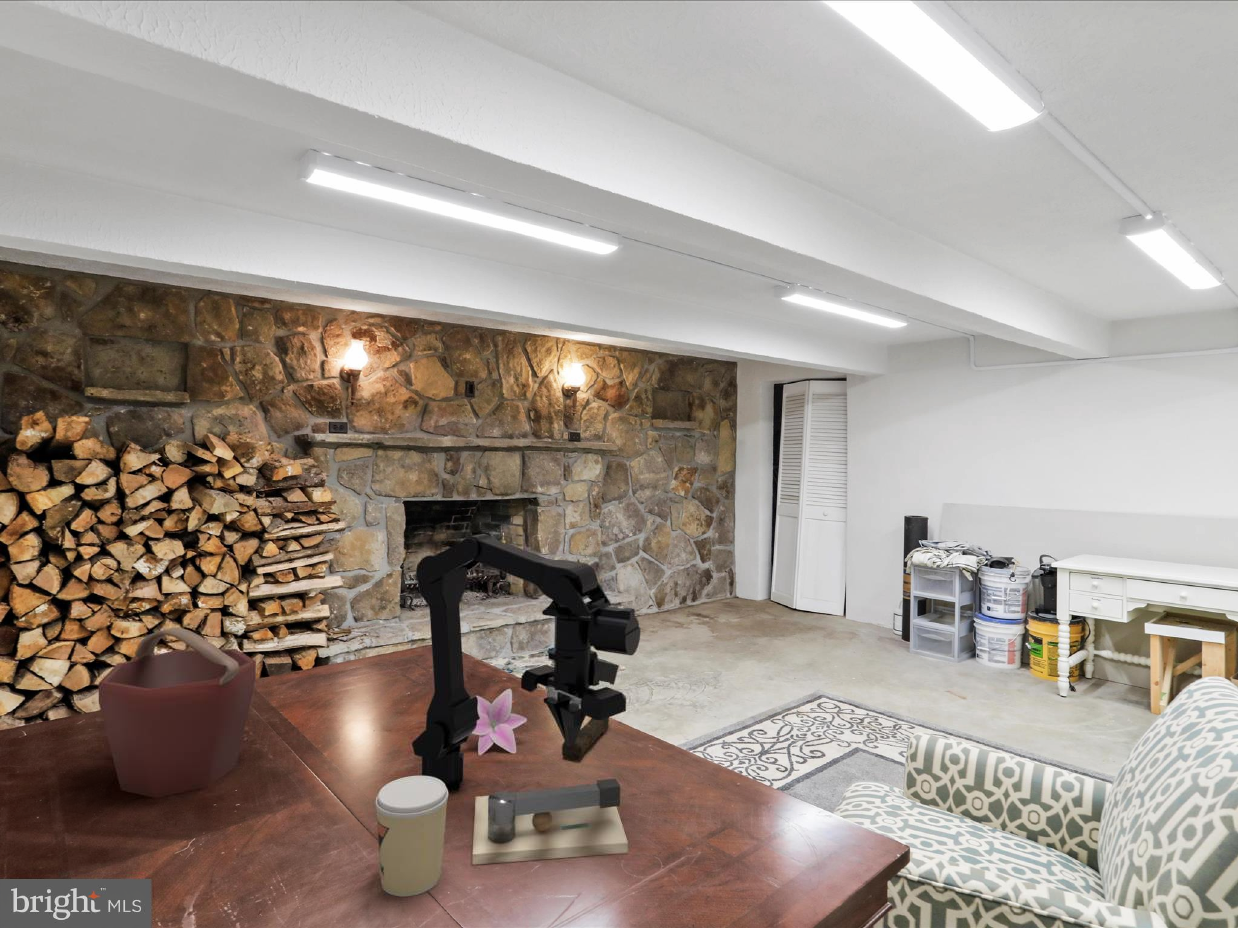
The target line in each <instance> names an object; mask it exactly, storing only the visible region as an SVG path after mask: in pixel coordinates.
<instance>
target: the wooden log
mask: <svg viewBox="0 0 1238 928" xmlns="http://www.w3.org/2000/svg"><path fill="white" fill-rule="evenodd" d="M609 721H610V717H608V718H606V719H603V720H595V719H593V718H591V719H590V720H589V721H588V722H587V723H586V724H584V726H582V727H581V729H580V732H579V734H578V737H577V739H576V742H575V744H574V745H572V746H569V745H567V744H566V742H565V740H564V741H563V743H562V746H561V755H562V757H563V759H564V760H568V761H572V762H578V761H581V759H582V757H583V756H584V753H585V751H586V750H588V748H589V747H590V745H593V744H594V742H595V741H596V739H597V738H598V737H599V736H603V735H605V734H606V732H607V730H608V727H609V724H610V723H609Z"/></svg>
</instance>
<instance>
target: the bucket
mask: <svg viewBox="0 0 1238 928" xmlns="http://www.w3.org/2000/svg"><path fill="white" fill-rule="evenodd" d="M165 636H169V637H173V638H174V639H177V640H178V641H181V642H183V643H184V644H186V645H187V646H188V647H189V648H190V649H176V650H175V649H174V650H171V651H167V652H163V653H157V654H155V653H154V650H155V649H156V646H157V644H158V643H159V642H160V640H161V639H162V638H164V637H165ZM134 658H135V659H132V660H128V661H124V662H119V663H116V665H115V666H114V667H112V669H111V670H110V671H109V672H108V673H107V674H106V675H105V676H104V677H103V678H102V679H101V680H100V681H99V682H98V705H99V709H100V714H101V717H102V720H103V724H104V728H105V731H106V736H107V740H108V744H109V748H110V753H111V756H112V760H113V764H114V768H115V771H116V772H115V773H116V775H117V776H116V777H117V780H118V784H119V787H120V790H121V791H123V792H127V793H132V794H137V795H141V796H144V797H150V798H154V799H156V798H162V797H166V796H171V795H176V794H180V793H184V792H189V791H194V790H198V789H203V788H208V787H210V786H211V785H213V784H214V783H216V782H217V781H218V780H219V779H221V778H222V777H223V776H225V775H226V774H227V773H228V772H230V771H231V770H233V769H234V768H236V767H237V763H238V759H239V756H240V755H239V754H240V751H241V746H242V741H243V737H244V732H245V727H246V723H247V719H248V714H249V711H250V705H251V702H252V695H253V692H254V687H255V683H256V679H257V661H256V660H255V659H253V658H251V657H250V656H249V655H247V654H245V653H243V652H242V651H240V650H238V649H236V648H218V647H217V645H215V644H213V643H212V642H210V641H209V640H206V639H205V638H203V637H202V636H200V635H199V634H197V633H196V632H193V631H191V630H189V629H185V628H183V627H171V628H167V629H162V630H158V631H156V632H153V633H150V634H148V635H147V636H145V637H143V639H141V640H140V642H139V644H138V645H137V648H136V649H135V652H134Z"/></svg>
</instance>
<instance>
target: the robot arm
mask: <svg viewBox="0 0 1238 928" xmlns="http://www.w3.org/2000/svg"><path fill="white" fill-rule="evenodd" d="M480 564H481V565H485V566H487V567H488V568H489V567H490V568H493V569H494V570H495V569H496V570H497V571H500V572H502V573H505V574H507V575H510V576H512V577H515V578H517V579H520V580H523V581H525V582H527V583H530V584H532V585H534V586H535V587H537V588H538V590H539V591H540V593H542V595H544V596H546V597H547V598H548V599H550V600H551V602H550V603H549V605H548V606H547V607H545V608H544V609H543V610H542V611H541V614H542V615H543V616H546V617H547V616H548V617H554V645H553V646H554V647H553V648H554V649H553V650H552V651H548V656H547V657H548V659H549V660H551V661H553V666H552V665H549V664H544V665H540V666H536V667H533V668H532V667H531V668H529V669H526V670H524V672H523V673H522V675H521V677H520V679H521V681H520V684H521V685H520V688H521V689H523V690H525V691H527V692H529V693H533V692H535V691H536V690H537V688H538V685H541V686H543V687H545V690H547V692H546V693H547V694H546V696H547V697H544V698H543V700H542V701H543V703H544V704H546V706H547V708H548V709H549V711H550V713H551V716H552V717H553V719H554V721H555V723H556V725H557V727H558V729H559V731H560V733H561V736H562V739H563V740H564V741H565V742H566V744H567V745H569V746H572V745H574V744H575V742H576V739H577V737H578V734H579V732H580V729H581V728H582V727H583V724H584V721H585V719H586V717H588V718H591V719H592V718H593V719H595V720H603V719H606V718H608V717H609V718H611V717H614V716H617V715H620V714H623V713H626V711H627V696H626V695H625V694H624V693H623V692H621V691H619V690H616V689H614V688H611V687H608V686H605V687H601V688H598V689H594V688H591V687H596V686H599V685H600V682H604V683H609V685H613V686H614V685H615V683H616V678H617V676H618V670H619V664H616V663H614V662H611V661H607V660H605V659H601V658H599V657H598V656H599V655H598V653H597V651H599V652H605V653H613V654H616V655H617V654H618V655H624V656H633V655H634V654H635V653H636V651H637V649H638V647H639V644H640V640H641V627H640V624H639V623H640V622H639V620H638V618H637V617H636V615H635V614H636V610H635V609H634V608H631V607H623V608H621V607H613V606H611V605H612V604H611V603H612V602H611V601H610V599H609V598H608V596H607V594H606V593H605V591H604V590H603V588H602V587H601V585H600V583H599V581H598V575H597V574H596V572H595V569H594V567H593V566H591V565H590V564H588V563H585V562H581V561H575V560H568V559H567V560H565V559H554V558H553V559H552V558H547V557H544V556H541V555H539V554H536V553H534V552H531V551H529V550H526V549H522V548H520V547H517V546H514V545H512V544H510V543H508V542H507V543H506V542H504V541H502V540H499V539H496V538H493V537H492V536H491V535H489V534H486V533H482V534H475V535H470V536H466V538H465V539H463V540H461V541H460V542H458V543H457V544H455V545H453V546H450V547H449V548H446V549H445V550H443V551H440V552H439V553H435V554H431V555H425V556H424V557H422V558H421V560H420V561H419V562H418V563H417V564H416V570H415V571H416V572H415V573H416V574H415V575H416V580H417V585H418V590H419V593H420V595H421V597H422V598H423V600H424V601H425V603H426V604H427V606H428V608H429V620H430V638H431V653H432V655H431V656H432V658H431V659H432V671H433V672H432V674H433V688H434V690H433V691H434V692H433V695H432V698H431V700H430V702H429V706H428V708H427V711H426V718H425V719H426V721H425V730H423V732H421V733H420V735H418V736H417V737H416V738H415V739H414V740H413V741H412V742H411V746H412V749H413V753H414V756H417V757H420V758H421V776H430V777H434V778H437V779H439V780H441V781H442V782H443V783H444V784H445V786H446V788H447V790H448V793H450V792H451V793H453V792H454V793H455V792H459V791H460V790H461V784H462V783H463V782H464V777H465V775H464V774H465V753H464V752H461V751H462V749H461V748H462V745H463V744H465V743H467V742H468V741H469V739H470V736H471V735H472V734H473V733H472V732H473V731H474V729H475V728H476V725H477V720H479V719H480V717H479V714H478V699H477V697H476V696H477V695H475V696H471V695H470V694H469V692H468V690H466V688H465V677H464V661H463V646H462V645H463V643H462V628H461V613H460V612H461V611H460V603H461V600H462V598H463V596H464V592H465V590H466V587H467V581H468V571H471V570H472V569H474V568H475V567H477V566H478V565H480ZM586 599H589V601H586V602H585V600H586ZM592 647H593V648H594V650H596V651H594V650H592Z"/></svg>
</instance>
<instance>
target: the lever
mask: <svg viewBox="0 0 1238 928" xmlns="http://www.w3.org/2000/svg"><path fill="white" fill-rule="evenodd" d="M488 796H489V797H488V839H489V840H491V841H493V842H497V843H503V842H507V841H510V840H512V839H513V838H514V837H515V829H516V816H519V815H527V814H535V813H543V812H551V811H560V810H568V809H576V808H584V807H592V806H600V808H608V807H620V806H621V785H620V784H619V782H618V780H617V778H615V777H614V778H608V779H598V780H596V783H589V784H588V783H587V784H581V785H580V784H579V785H573V786H572V785H571V786H563V787H555V788H547V789H546V788H545V789H536V790H530V791H529V790H528V791H519V792H518V791H517V792H512V791H507V790H499V791H498V790H497V791H495V792H493V793H491V794H490V795H488Z"/></svg>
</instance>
